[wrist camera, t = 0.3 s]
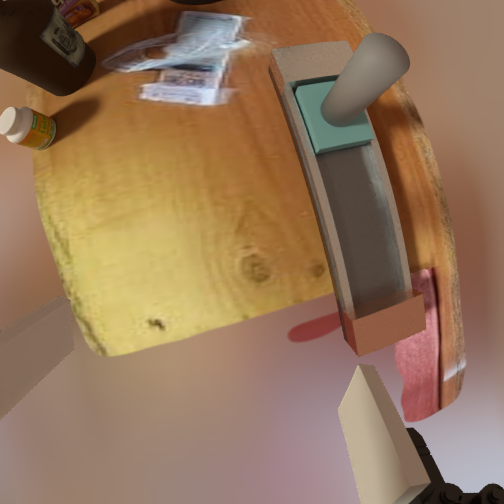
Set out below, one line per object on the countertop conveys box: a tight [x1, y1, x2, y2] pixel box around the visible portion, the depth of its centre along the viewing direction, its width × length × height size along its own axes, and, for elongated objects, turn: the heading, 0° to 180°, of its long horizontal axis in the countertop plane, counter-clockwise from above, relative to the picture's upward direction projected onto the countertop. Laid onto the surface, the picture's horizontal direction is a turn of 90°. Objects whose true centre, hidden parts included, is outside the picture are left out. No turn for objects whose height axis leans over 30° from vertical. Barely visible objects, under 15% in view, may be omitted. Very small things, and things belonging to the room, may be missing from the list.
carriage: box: [295, 33, 410, 155], centre depth 24 cm, size 8×7×17 cm
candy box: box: [50, 0, 100, 29], centre depth 25 cm, size 9×4×15 cm, turn 110°
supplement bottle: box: [0, 107, 56, 150], centre depth 30 cm, size 5×5×10 cm
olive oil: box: [0, 0, 95, 96], centre depth 21 cm, size 11×11×25 cm
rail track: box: [269, 41, 426, 357], centre depth 33 cm, size 38×10×6 cm, turn 16°
